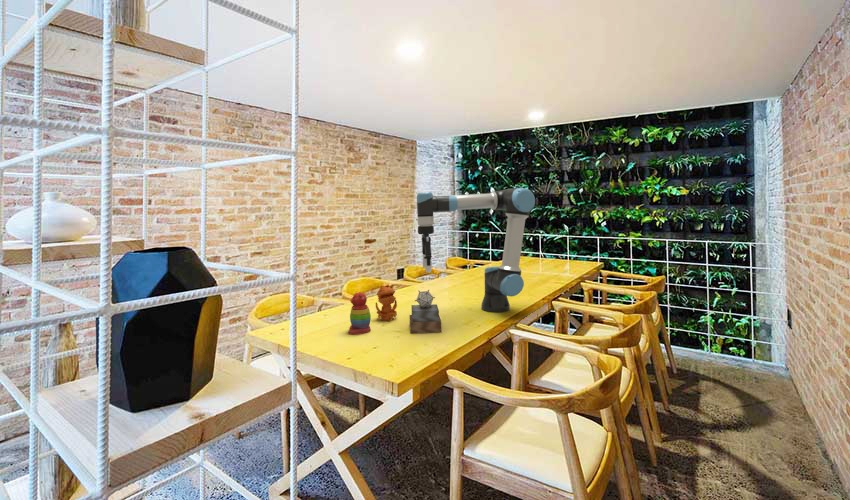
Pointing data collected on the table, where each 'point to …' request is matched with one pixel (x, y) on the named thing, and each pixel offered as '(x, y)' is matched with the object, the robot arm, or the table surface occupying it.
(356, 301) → the stacking bear
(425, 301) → the grey spiked ball
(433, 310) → the dark grey tapered block
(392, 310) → the brown upright figure
